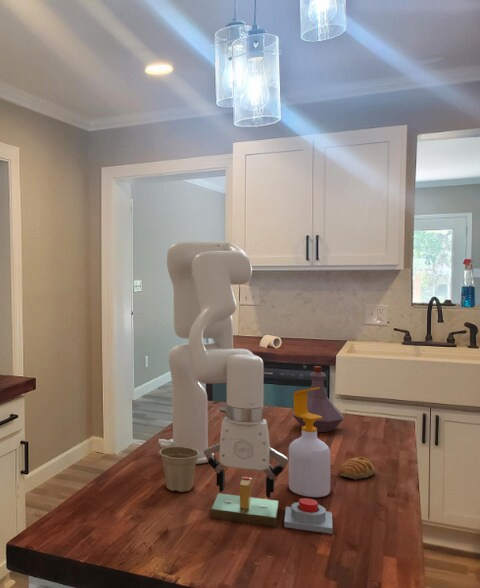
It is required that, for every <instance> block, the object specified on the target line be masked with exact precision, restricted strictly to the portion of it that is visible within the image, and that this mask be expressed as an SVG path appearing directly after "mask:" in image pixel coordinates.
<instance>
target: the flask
mask: <svg viewBox="0 0 480 588" xmlns="http://www.w3.org/2000/svg"><path fill="white" fill-rule="evenodd" d="M309 377H310V379H311V386H310V388H317V387H320V389H315V390H310V391H308V395H307V410H308V412H309V413H312V414H316V415H319V416H322V419H317V420H316V422H313V427H316V428H317V433H318V432H319V433H325V432H331V431H334V429H335V428H336V427H338V425H339V424H341V423H342V421H343V420H344V414H343V413H342V412H341V410H339V408H337V406H335V405H334V404H333V402H332V401H331V399H330V398H328V396H327V391H326V388H325V383H324V380H325V378H326V377H327V376H326V374H325V373H323V372H322V366H321V365H320V366H319V365H314V366H313V371H312V372H311V373H310V374H309ZM292 417H293V418H294V419H295V420H296V421H297V422H298V424H299V426H301V428H302V427H303V426H305V422H304V421H303V418H300V417H297V416H295V414H294V410H293V411H292Z"/></svg>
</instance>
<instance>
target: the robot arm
mask: <svg viewBox="0 0 480 588" xmlns="http://www.w3.org/2000/svg"><path fill="white" fill-rule="evenodd" d="M166 267H167V271H168V275H169V277H170V281H171V285H172V290H173V327H174V333H175V335H176V336H177V337H178V338H180V339H186V340H188V343H182V344H177V345H175V346H174V347H172V348H171V350H170V351H169V353H168V366H169V371H170V376H171V386H172V387H171V388H172V390H171V391H172V438H170V439H164V438H163V439H162V438H158V442H157V444H158V446H159V447H160V449H163V448H166V447H173V446H180V447H188V448H192V449H195V450H197V451H198V452H199V456H198V457H197V461H196V464H195V465H201V464H206V463H208V465H210V467H211V468H212V469H213V470H214V472H215V473H216V486H217V487H218V491H219V493H220V492H221V493H222V492H224V490H225V487H226V471H225V468H230V469H240V470H249V471H256V472H264V474H265V475H266V479H265V497H266V499H270V498H271V494H274V492H275V478H277V476H279V475H280V474H281V473H282V472H283V471H284V469H285V467H286V465H287V464H288V463H289V457H288V456H286V455H284V454H282V452H279V451H277V450H276V449H274V448H272V447H271V445H270V444H271V443H270V433H269V426H268V422H267V420H266V419H265V418H264V361H263V359H262V358H261V357H260V356H259V355H256V354H254V353H253V352H252V351H251V350H249V349H246V348H234V322H233V316H232V315H233V314H235V312H236V310H237V301H236V298H235V294H234V289H233V286H232V285H234V286H235V285H237V286H238V285H246V284H248V283H249V281H250V280H251V278H252V274H253V267H252V262H251V259H250V257H249V255H248V254H247V253H246V252H245V251H244V250H243V249H242V248H241V247H238V246H237V245H236V244H234V243H232V242H230V241H225V240H224V241H223V240H222V241H221V240H220V241H219V240H215V241H214V240H213V241H211V240H210V241H208V240H207V241H203V240H202V241H201V240H195V241H194V240H192V241H191V240H190V241H180V242H176V243H173V244H172V245H170V246H169V248H168V251H167V253H166ZM205 339H212V342H206V343H205V342H204V340H205ZM202 384H208V385H209V384H226V404H225V405H220V406H219V413H223V414H224V415H225V416H224V417H223V418H222V421H221V428H220V437H219V442H218V443H216V444H213V445H211V446H209V441H208V440H209V436H208V435H209V434H208V433H209V431H208V429H209V421H208V420H209V419H208V418H209V417H208V415H209V412H208V409H209V408H208V393H207V391H206V389H205V387H203V385H202ZM216 452H219V455H218V456H219V457H218V458H219V462H218V460H217V459H216V458H215V457H214V454H215V453H216ZM271 458H273V459H275V460H277V461H278V464H277V465H276V466H274V467H273V466H272V465H271V464H270V462H271Z"/></svg>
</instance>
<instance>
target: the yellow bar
mask: <svg viewBox="0 0 480 588" xmlns="http://www.w3.org/2000/svg"><path fill="white" fill-rule="evenodd" d="M239 496H240V508H245V509H249V506H250V503H251V497H252V478H251V477H249V476H242V477H241V480H240V483H239Z"/></svg>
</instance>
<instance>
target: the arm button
mask: <svg viewBox="0 0 480 588" xmlns="http://www.w3.org/2000/svg"><path fill="white" fill-rule="evenodd" d="M298 502H299V509H300V510H302V511H305V512H317V511H318V505H319V503H318V501H317V500H315V499H313V498H310V497H303V498H299V500H298Z"/></svg>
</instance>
